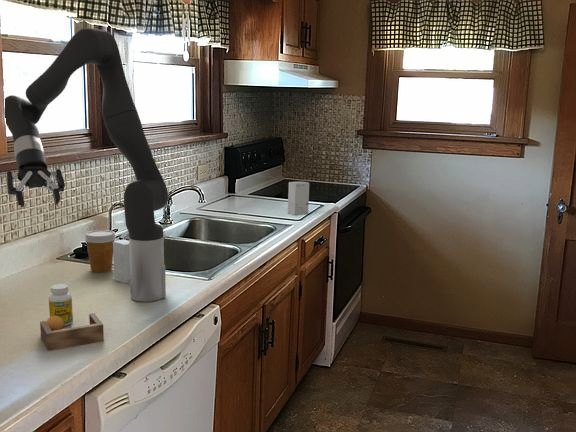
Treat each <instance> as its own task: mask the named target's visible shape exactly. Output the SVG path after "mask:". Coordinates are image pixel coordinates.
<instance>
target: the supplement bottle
mask: <svg viewBox="0 0 576 432" xmlns="http://www.w3.org/2000/svg"><path fill="white" fill-rule="evenodd" d="M50 292H51V294H50V295H49V297H48V309H49V310H48V311H49V313H48V314H49V317H51V316H59V317H61V318H62V320H63V328H64V327H68V326H69V325H72V324H73V321H74V317H73V316H74V315H73V300H72V299H73V297H72V294H71V293H69V285H68V284H65V283H58V284H54V285H51V286H50Z"/></svg>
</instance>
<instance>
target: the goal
mask: <svg viewBox="0 0 576 432" xmlns="http://www.w3.org/2000/svg"><path fill="white" fill-rule="evenodd" d="M88 316H89V317H88V319H89V320H88V322H89V324H86V325H79V326H74V327H68V328H62V329H61V330H55V331H51V329H50V328H49V326H48V324H47V323H46V321H47V320H42V321H39V324H40V325H39V327H40V330H39V331H40V339H41V341H42V343H43V345H44V347H45V348H46V350H47V351H48V352H49V351H55V350H60V349H64V348H65V349H66V348H69V347H75V346H76V347H77V346H82V345H88V344H92V343H94V344H95V343H99V342H104V341H105V338H104V337H105V336H104V323H102V321H101V320H100V319H99V317H98V316H97V315H96V314H95V313H89V314H88Z"/></svg>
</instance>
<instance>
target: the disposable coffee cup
mask: <svg viewBox="0 0 576 432" xmlns="http://www.w3.org/2000/svg"><path fill="white" fill-rule="evenodd" d="M116 237H117V236H116V234H115V232H114V231H113V230H109V229H97V230H96V229H94V230H91V231H87V232H86V233H85V236H84V237H83V238H84V240H85V242H86V243H85V244H86V248H87V254H88V259H89V265H90V271H91V272H93V273H107V272H111V271H112V267H113V261H114V259H113V241H116Z"/></svg>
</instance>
